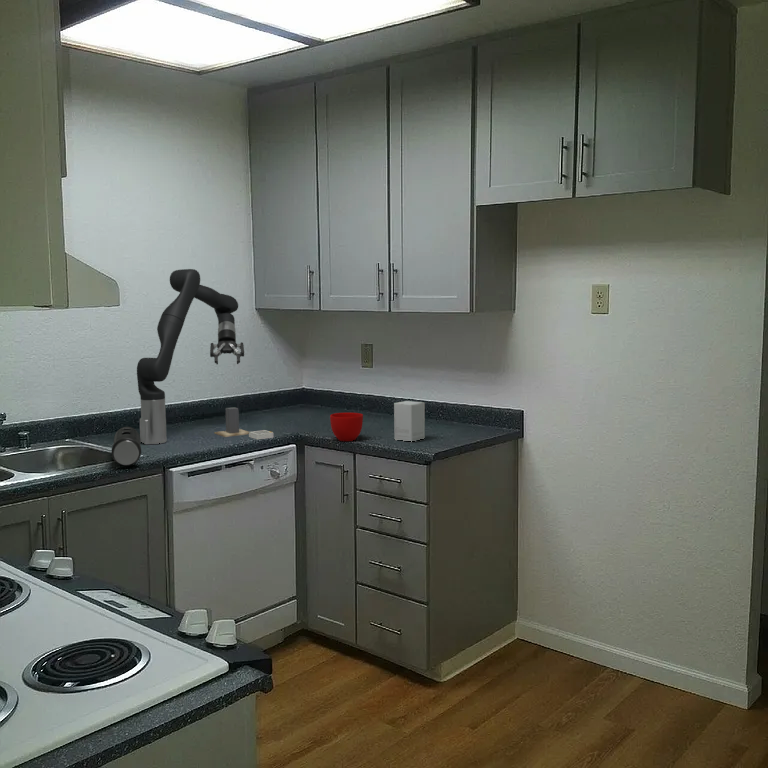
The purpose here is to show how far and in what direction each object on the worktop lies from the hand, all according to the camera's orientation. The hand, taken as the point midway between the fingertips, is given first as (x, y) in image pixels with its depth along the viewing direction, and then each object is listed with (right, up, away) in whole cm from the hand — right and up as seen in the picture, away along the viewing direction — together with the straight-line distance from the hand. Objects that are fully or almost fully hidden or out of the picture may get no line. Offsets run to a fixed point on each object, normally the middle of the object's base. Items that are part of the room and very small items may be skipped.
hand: (227, 363), depth 344 cm
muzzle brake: (-24, -36, -58) cm, 72 cm away
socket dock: (+17, -31, -16) cm, 38 cm away
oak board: (+4, -30, -7) cm, 31 cm away
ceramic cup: (+52, -31, -18) cm, 63 cm away
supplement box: (+76, -31, -21) cm, 85 cm away
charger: (+4, -29, -7) cm, 30 cm away
